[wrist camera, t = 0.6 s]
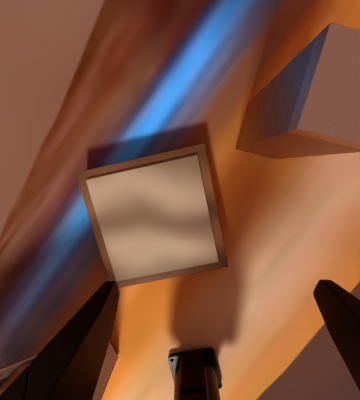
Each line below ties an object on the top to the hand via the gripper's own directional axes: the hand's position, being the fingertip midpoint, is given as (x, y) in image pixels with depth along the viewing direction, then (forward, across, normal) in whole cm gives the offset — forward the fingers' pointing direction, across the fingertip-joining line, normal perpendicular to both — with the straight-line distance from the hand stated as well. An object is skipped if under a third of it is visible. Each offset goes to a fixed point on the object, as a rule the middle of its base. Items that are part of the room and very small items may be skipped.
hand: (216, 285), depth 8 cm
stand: (+14, +5, +6) cm, 16 cm away
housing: (+17, -8, -4) cm, 19 cm away
